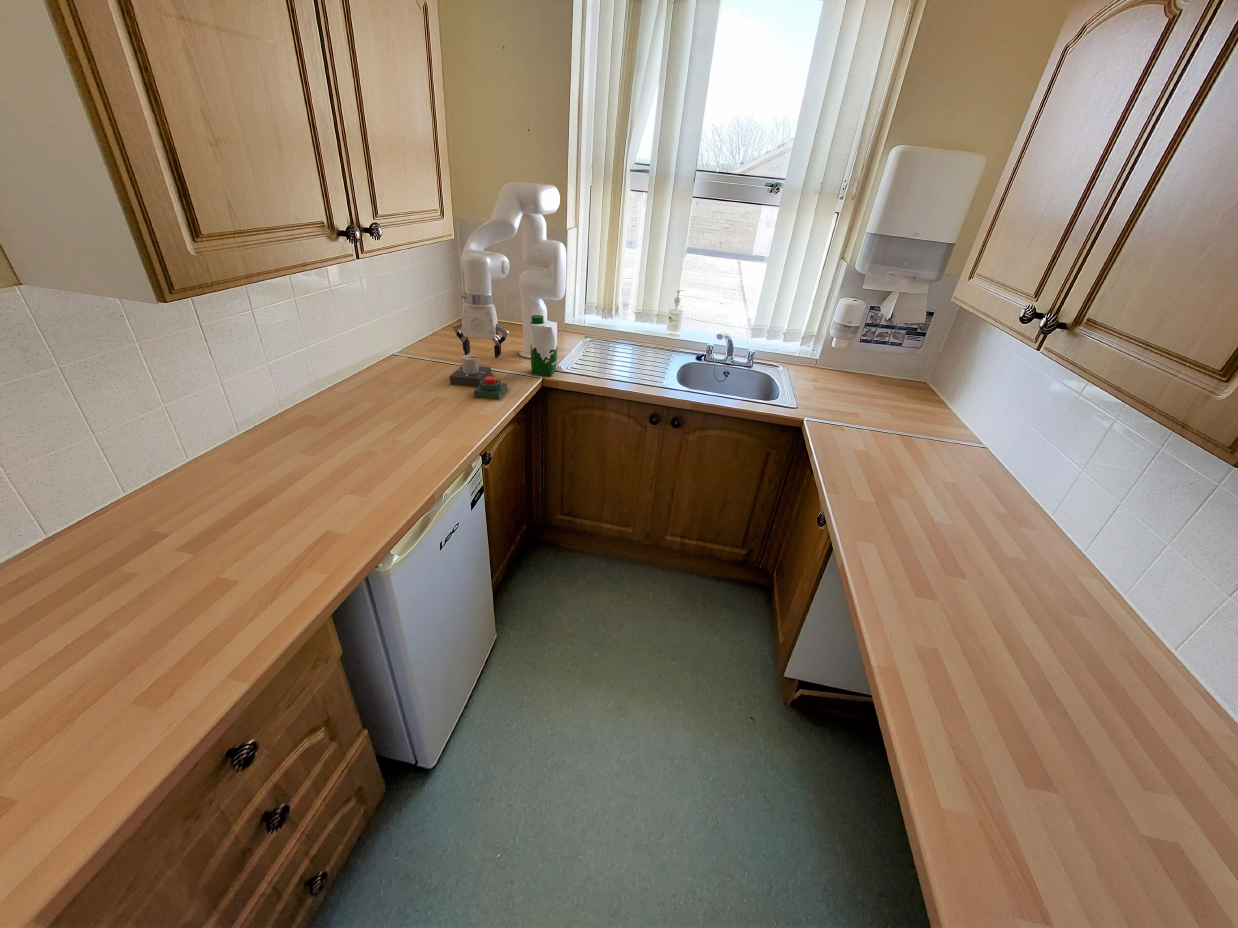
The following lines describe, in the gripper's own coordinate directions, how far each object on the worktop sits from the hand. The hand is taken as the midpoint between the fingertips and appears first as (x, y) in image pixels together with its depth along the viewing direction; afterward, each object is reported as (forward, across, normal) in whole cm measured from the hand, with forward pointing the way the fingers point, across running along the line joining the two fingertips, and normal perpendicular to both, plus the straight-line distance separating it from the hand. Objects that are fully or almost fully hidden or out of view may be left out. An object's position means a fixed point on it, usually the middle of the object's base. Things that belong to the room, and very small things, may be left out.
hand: (482, 355), depth 152 cm
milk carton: (+12, +14, +22) cm, 29 cm away
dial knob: (+9, -7, +8) cm, 14 cm away
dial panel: (+12, -7, +8) cm, 16 cm away
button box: (+12, +3, -2) cm, 12 cm away
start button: (+8, +3, -2) cm, 9 cm away
